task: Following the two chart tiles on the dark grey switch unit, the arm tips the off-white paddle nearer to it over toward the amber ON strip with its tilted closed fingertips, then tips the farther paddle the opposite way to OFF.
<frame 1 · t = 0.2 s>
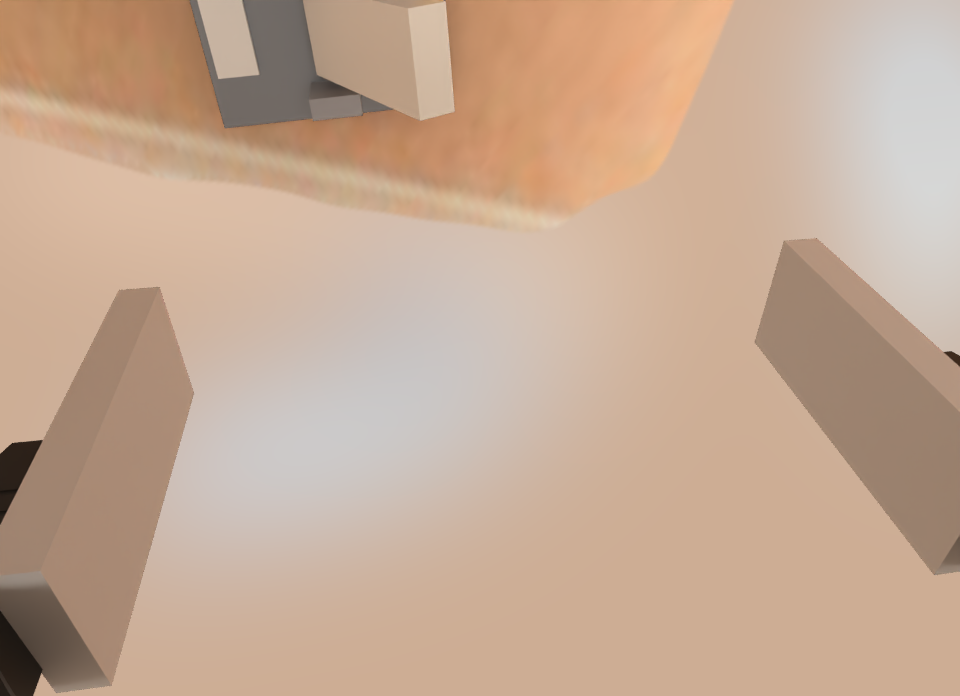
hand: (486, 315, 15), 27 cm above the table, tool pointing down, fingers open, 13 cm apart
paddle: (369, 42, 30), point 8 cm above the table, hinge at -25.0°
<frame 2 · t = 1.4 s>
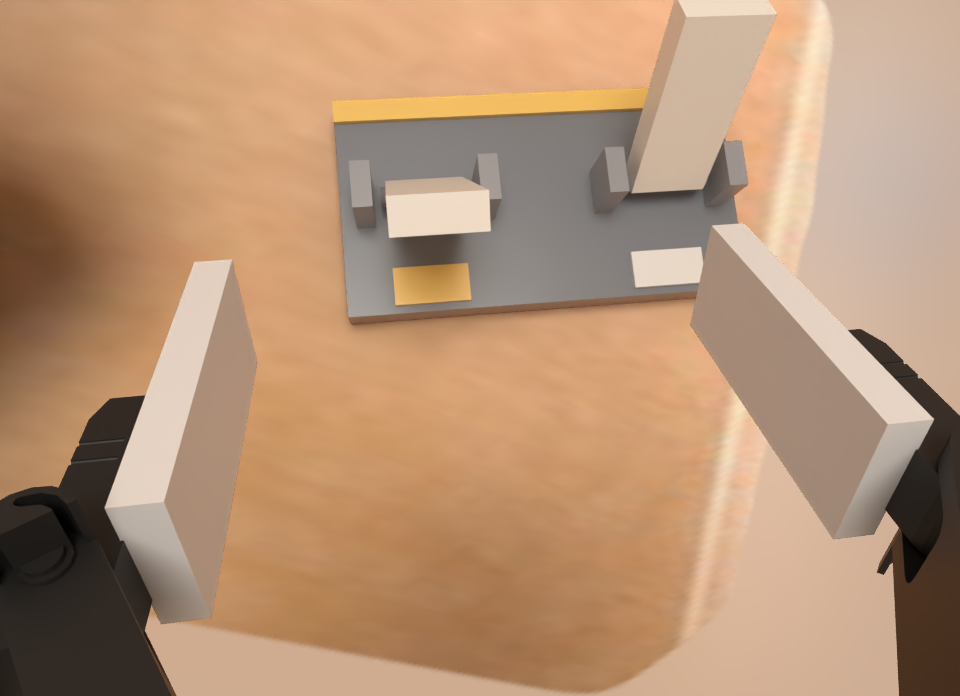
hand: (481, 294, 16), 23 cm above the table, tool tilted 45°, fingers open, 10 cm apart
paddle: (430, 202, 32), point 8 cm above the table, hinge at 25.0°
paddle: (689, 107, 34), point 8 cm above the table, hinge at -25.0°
switch unit: (535, 207, 41), on the table
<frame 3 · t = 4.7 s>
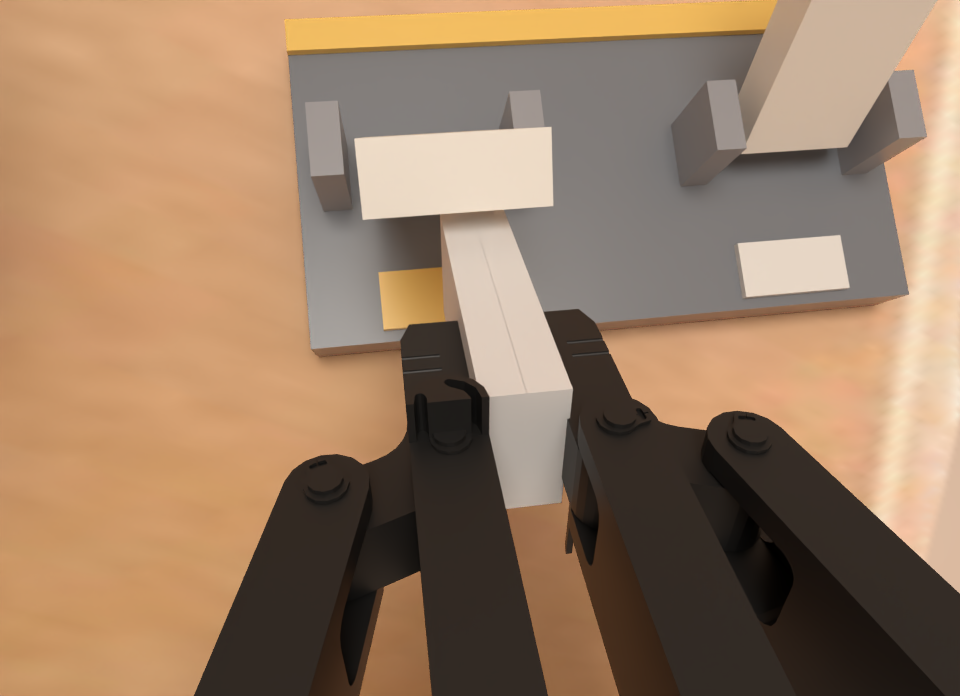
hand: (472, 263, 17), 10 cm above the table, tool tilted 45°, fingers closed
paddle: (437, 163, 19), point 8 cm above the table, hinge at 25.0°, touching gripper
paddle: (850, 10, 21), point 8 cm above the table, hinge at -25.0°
switch unit: (589, 180, 28), on the table
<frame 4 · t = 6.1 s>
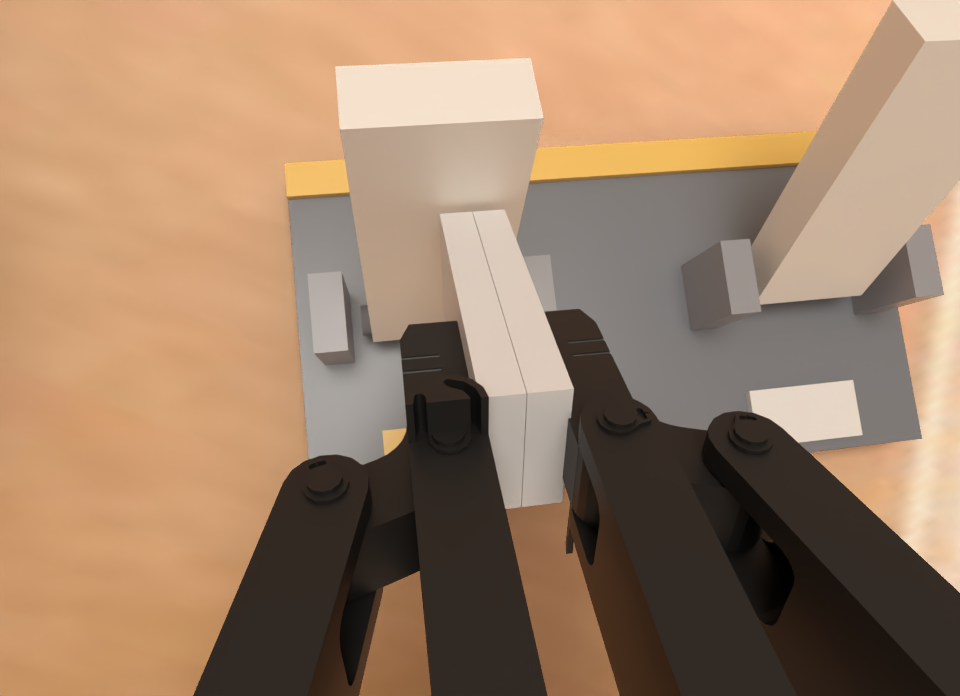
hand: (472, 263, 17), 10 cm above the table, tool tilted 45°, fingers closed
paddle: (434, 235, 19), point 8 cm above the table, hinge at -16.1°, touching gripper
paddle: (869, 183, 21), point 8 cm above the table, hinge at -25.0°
switch unit: (596, 314, 27), on the table
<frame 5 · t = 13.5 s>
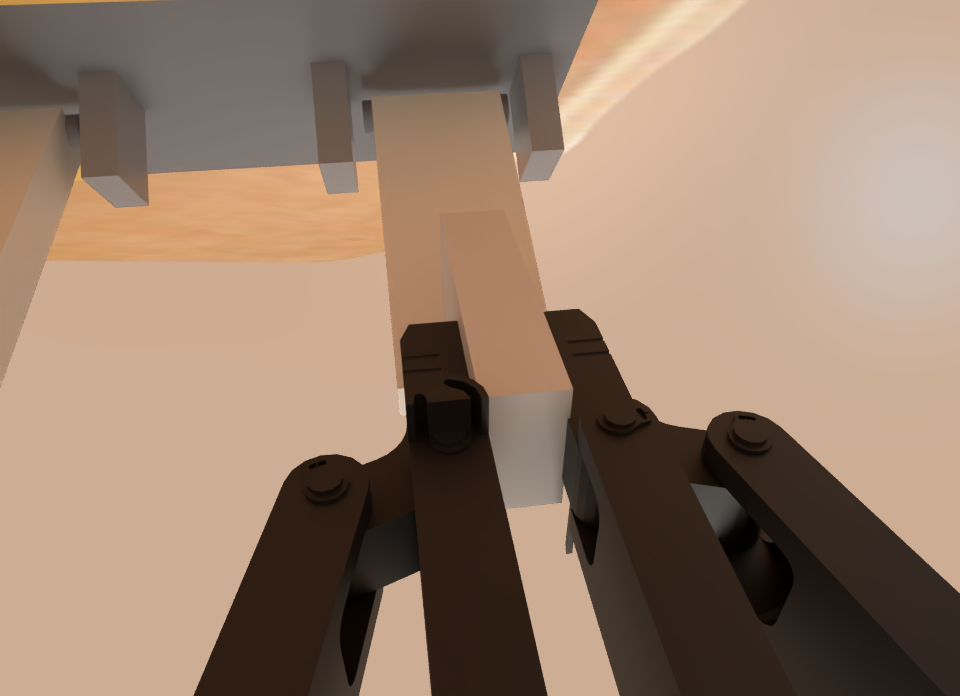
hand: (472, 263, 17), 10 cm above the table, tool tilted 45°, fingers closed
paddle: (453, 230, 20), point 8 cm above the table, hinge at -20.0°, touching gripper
switch unit: (221, 29, 22), on the table
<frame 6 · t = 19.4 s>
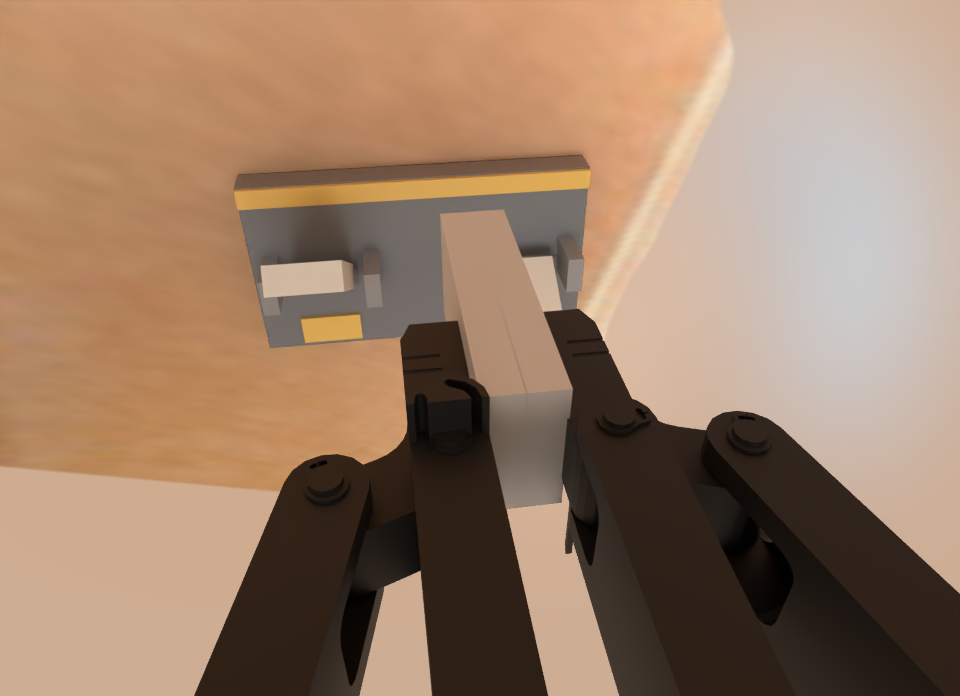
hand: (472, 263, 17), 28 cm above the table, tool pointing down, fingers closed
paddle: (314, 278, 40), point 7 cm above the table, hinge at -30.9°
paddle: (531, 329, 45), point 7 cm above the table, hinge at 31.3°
switch unit: (419, 247, 48), on the table
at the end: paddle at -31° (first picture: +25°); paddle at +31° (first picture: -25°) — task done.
